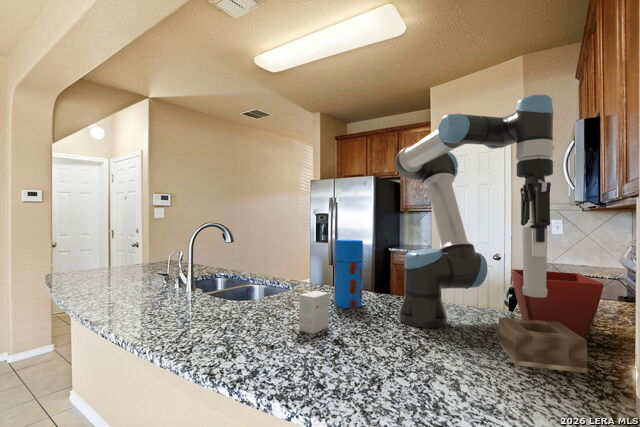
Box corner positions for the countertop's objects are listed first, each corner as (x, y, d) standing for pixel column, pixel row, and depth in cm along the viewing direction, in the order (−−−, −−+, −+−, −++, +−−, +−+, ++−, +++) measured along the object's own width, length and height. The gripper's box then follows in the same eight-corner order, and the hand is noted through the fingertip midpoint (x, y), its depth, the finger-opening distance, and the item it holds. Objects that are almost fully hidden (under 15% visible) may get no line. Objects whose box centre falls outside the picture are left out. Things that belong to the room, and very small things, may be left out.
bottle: (551, 298, 77) (551, 191, 78) (526, 296, 78) (526, 191, 79) (542, 293, 82) (541, 193, 83) (519, 292, 83) (518, 193, 84)
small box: (314, 323, 104) (314, 290, 104) (329, 327, 101) (329, 292, 101) (298, 330, 97) (298, 294, 98) (313, 334, 94) (314, 297, 94)
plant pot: (605, 346, 89) (605, 282, 89) (523, 336, 95) (523, 277, 96) (578, 325, 106) (577, 272, 107) (510, 318, 113) (510, 269, 113)
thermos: (332, 301, 134) (333, 239, 134) (358, 300, 135) (359, 239, 135) (336, 308, 123) (337, 241, 123) (365, 307, 124) (365, 241, 125)
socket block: (515, 365, 76) (515, 334, 76) (498, 343, 89) (498, 317, 89) (587, 373, 72) (587, 340, 72) (558, 349, 86) (558, 322, 86)
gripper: (568, 151, 71) (569, 259, 71) (538, 165, 89) (538, 252, 88) (529, 153, 74) (529, 258, 73) (507, 166, 91) (507, 251, 90)
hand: (534, 254), depth 81 cm, fingers closed on bottle, 5 cm apart
